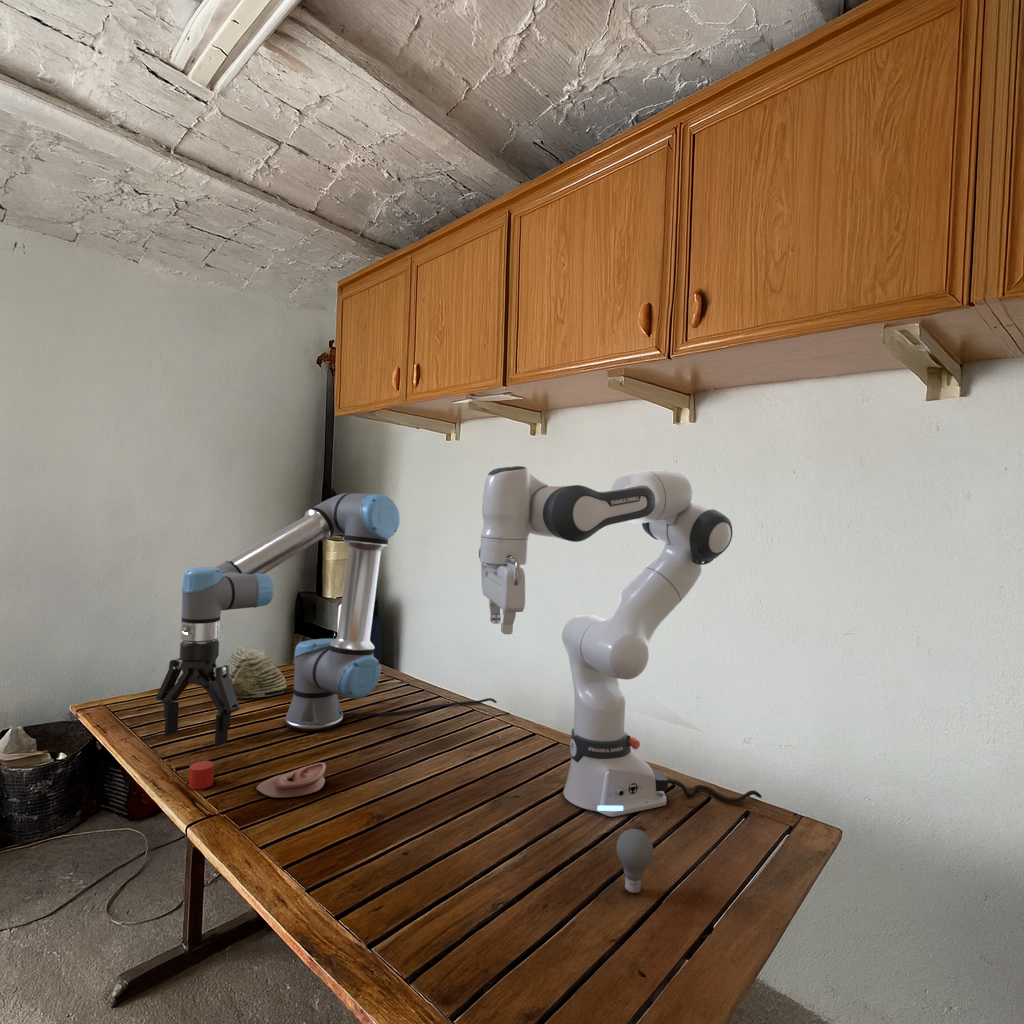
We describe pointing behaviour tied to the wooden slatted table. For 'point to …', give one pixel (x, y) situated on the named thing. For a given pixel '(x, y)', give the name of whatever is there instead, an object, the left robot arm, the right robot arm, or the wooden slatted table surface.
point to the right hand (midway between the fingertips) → (500, 628)
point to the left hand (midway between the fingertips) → (195, 739)
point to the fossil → (254, 674)
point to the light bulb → (634, 857)
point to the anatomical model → (295, 782)
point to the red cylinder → (201, 775)
